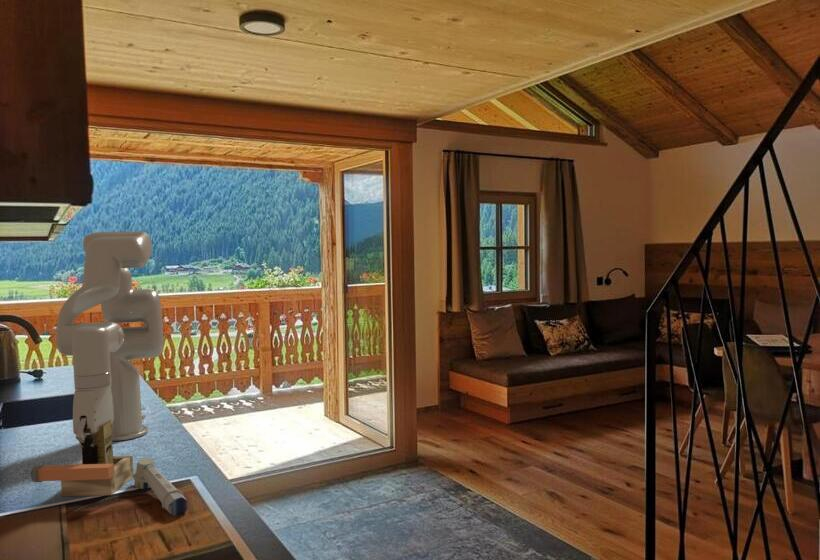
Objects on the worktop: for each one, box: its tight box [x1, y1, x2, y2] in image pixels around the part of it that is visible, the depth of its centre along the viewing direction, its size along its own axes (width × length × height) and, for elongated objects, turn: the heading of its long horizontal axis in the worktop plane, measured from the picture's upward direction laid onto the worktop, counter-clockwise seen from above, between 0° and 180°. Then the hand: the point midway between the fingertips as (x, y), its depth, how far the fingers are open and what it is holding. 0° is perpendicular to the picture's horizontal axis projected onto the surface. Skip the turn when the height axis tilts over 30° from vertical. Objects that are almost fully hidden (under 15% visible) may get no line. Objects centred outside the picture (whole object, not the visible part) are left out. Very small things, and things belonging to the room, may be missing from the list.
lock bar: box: [30, 464, 114, 483], centre depth 134 cm, size 4×16×4 cm, turn 90°
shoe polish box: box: [80, 421, 114, 464], centre depth 143 cm, size 5×5×12 cm
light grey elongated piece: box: [133, 457, 189, 517], centre depth 135 cm, size 5×7×25 cm
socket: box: [60, 455, 135, 497], centre depth 143 cm, size 11×11×5 cm
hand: (97, 458), depth 143 cm, fingers closed on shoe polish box, 5 cm apart
